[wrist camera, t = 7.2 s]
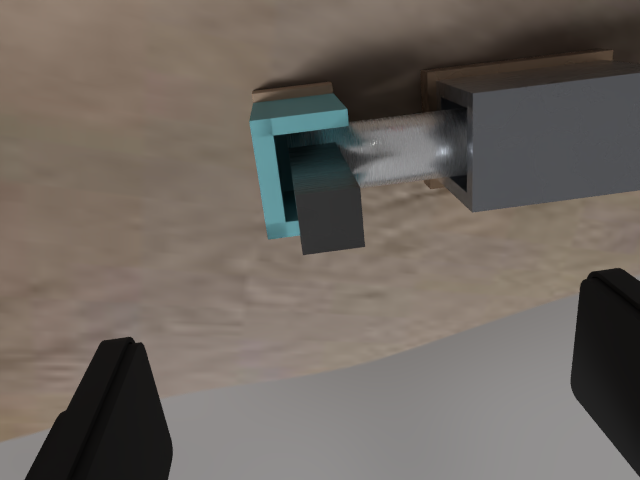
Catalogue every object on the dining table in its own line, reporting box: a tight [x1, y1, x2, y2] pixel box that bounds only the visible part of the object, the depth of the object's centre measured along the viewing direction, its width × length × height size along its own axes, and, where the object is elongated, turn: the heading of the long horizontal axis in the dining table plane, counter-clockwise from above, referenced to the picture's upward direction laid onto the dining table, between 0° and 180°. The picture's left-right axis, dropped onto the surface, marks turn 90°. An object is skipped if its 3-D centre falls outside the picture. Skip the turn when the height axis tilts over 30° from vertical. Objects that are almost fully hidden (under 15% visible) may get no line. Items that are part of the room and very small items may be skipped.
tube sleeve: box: [421, 49, 640, 212], centre depth 30 cm, size 11×7×8 cm, turn 96°
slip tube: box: [286, 107, 467, 255], centre depth 25 cm, size 12×4×11 cm, turn 96°
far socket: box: [249, 82, 349, 239], centre depth 29 cm, size 5×7×8 cm, turn 6°
